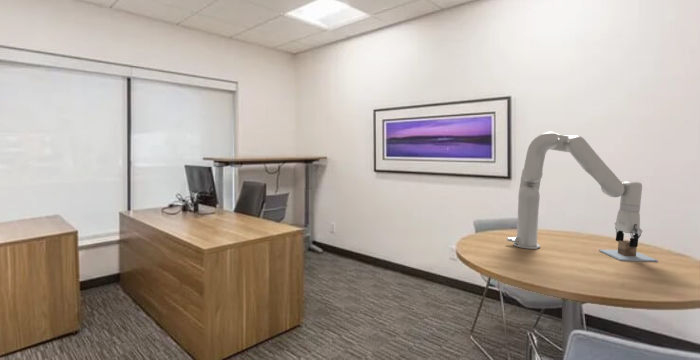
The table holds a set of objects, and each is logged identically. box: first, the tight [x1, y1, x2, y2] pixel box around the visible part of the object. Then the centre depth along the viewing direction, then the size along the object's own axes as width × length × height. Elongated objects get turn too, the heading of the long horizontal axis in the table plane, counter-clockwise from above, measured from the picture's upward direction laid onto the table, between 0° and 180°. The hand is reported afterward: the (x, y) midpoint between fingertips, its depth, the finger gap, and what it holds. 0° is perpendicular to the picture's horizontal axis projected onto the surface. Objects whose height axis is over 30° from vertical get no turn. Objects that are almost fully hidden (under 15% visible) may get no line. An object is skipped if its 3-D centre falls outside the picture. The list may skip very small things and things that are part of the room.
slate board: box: [598, 248, 658, 263], centre depth 173 cm, size 16×16×1 cm
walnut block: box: [617, 240, 638, 256], centre depth 173 cm, size 5×5×6 cm
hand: (626, 243), depth 173 cm, fingers open, 9 cm apart
